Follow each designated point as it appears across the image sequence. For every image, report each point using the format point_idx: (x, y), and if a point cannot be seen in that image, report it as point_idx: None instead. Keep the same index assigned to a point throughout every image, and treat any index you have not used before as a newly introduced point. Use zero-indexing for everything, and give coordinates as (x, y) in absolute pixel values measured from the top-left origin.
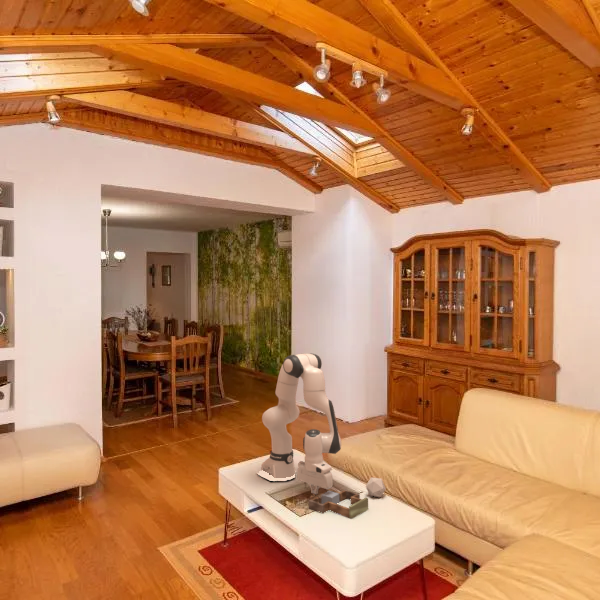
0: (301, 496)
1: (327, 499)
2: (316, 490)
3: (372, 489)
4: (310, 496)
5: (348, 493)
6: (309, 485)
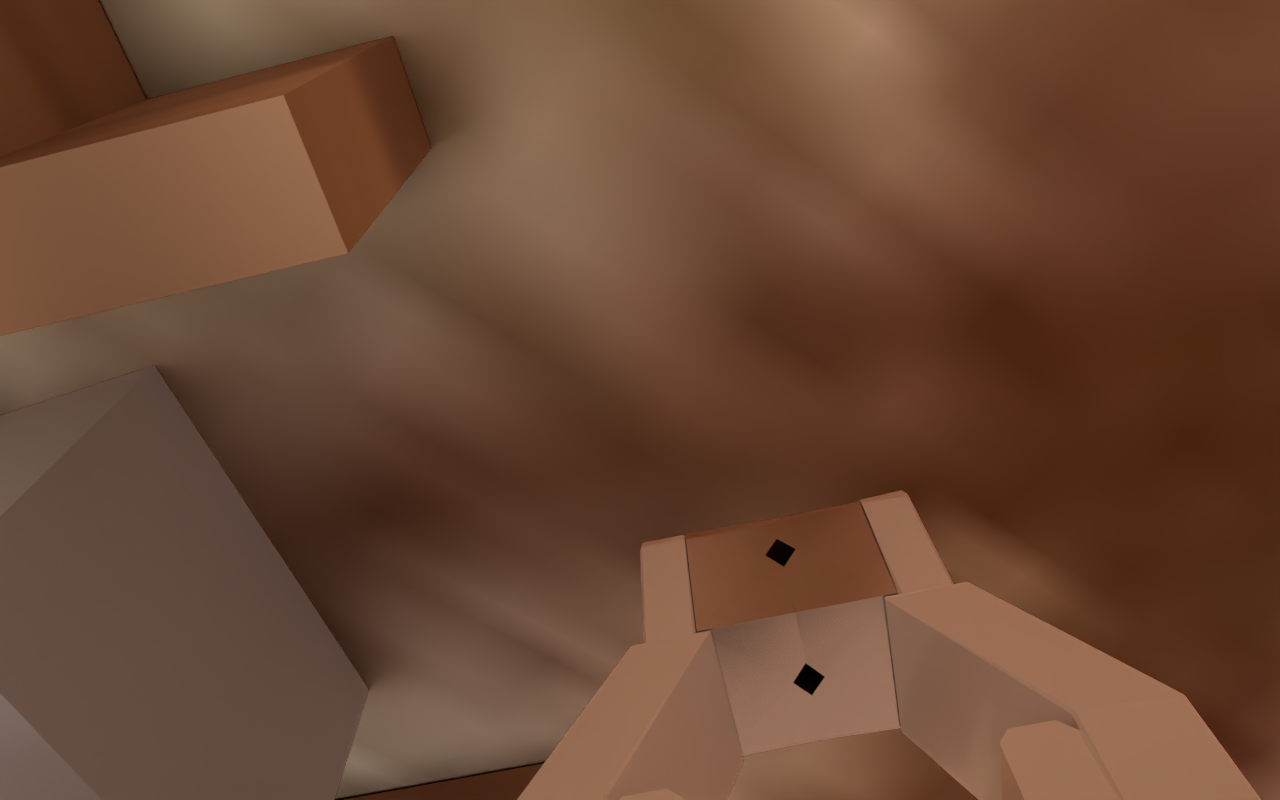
0: (1241, 146)
1: None
2: (622, 691)
3: None
4: (276, 90)
5: None
6: (1166, 708)
